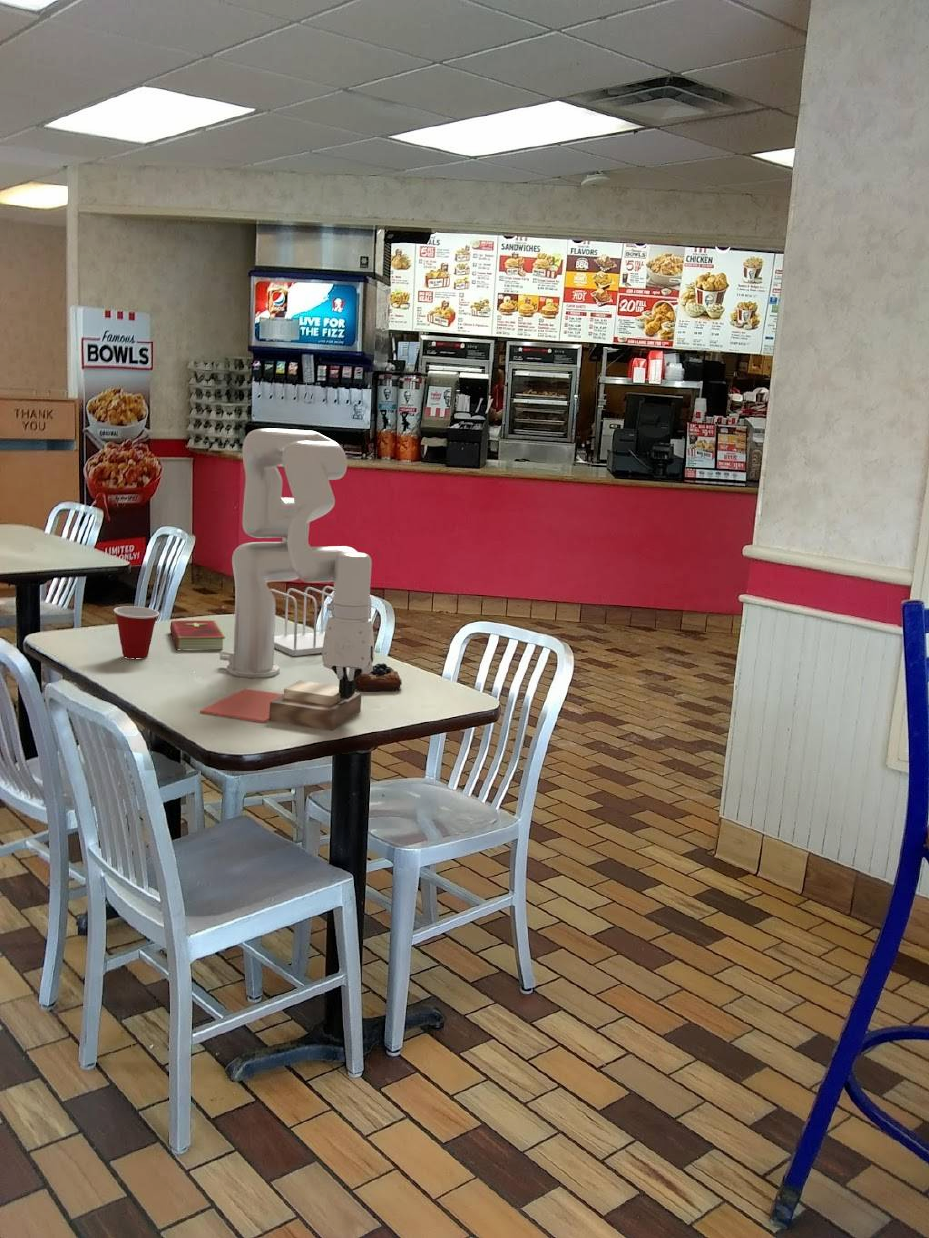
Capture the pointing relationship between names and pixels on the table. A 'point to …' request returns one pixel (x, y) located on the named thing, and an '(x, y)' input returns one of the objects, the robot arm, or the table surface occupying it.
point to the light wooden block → (313, 693)
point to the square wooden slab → (314, 712)
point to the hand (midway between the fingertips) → (346, 697)
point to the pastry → (379, 680)
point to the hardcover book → (197, 634)
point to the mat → (244, 705)
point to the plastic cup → (135, 629)
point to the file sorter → (304, 641)
